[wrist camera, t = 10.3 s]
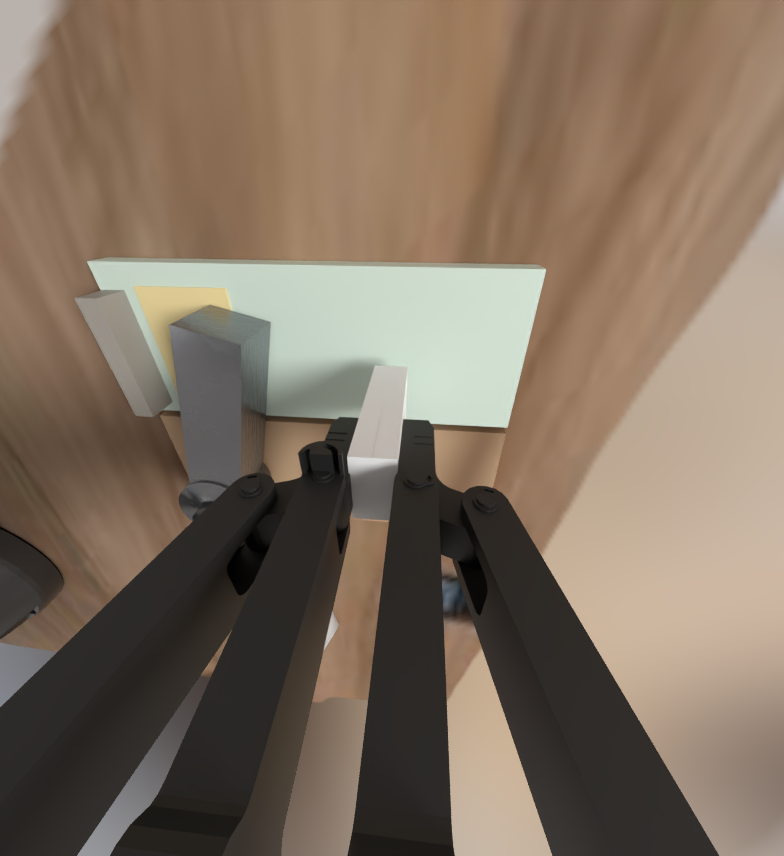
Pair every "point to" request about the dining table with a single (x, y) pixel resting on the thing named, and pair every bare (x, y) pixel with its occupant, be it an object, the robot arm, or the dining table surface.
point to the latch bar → (220, 400)
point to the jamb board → (285, 436)
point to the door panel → (329, 330)
